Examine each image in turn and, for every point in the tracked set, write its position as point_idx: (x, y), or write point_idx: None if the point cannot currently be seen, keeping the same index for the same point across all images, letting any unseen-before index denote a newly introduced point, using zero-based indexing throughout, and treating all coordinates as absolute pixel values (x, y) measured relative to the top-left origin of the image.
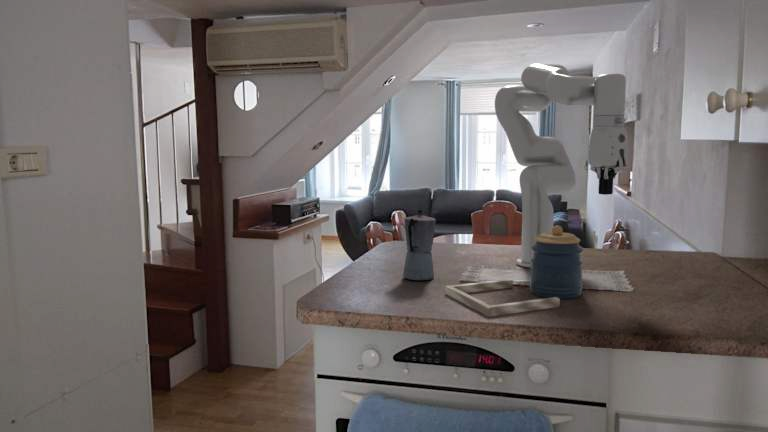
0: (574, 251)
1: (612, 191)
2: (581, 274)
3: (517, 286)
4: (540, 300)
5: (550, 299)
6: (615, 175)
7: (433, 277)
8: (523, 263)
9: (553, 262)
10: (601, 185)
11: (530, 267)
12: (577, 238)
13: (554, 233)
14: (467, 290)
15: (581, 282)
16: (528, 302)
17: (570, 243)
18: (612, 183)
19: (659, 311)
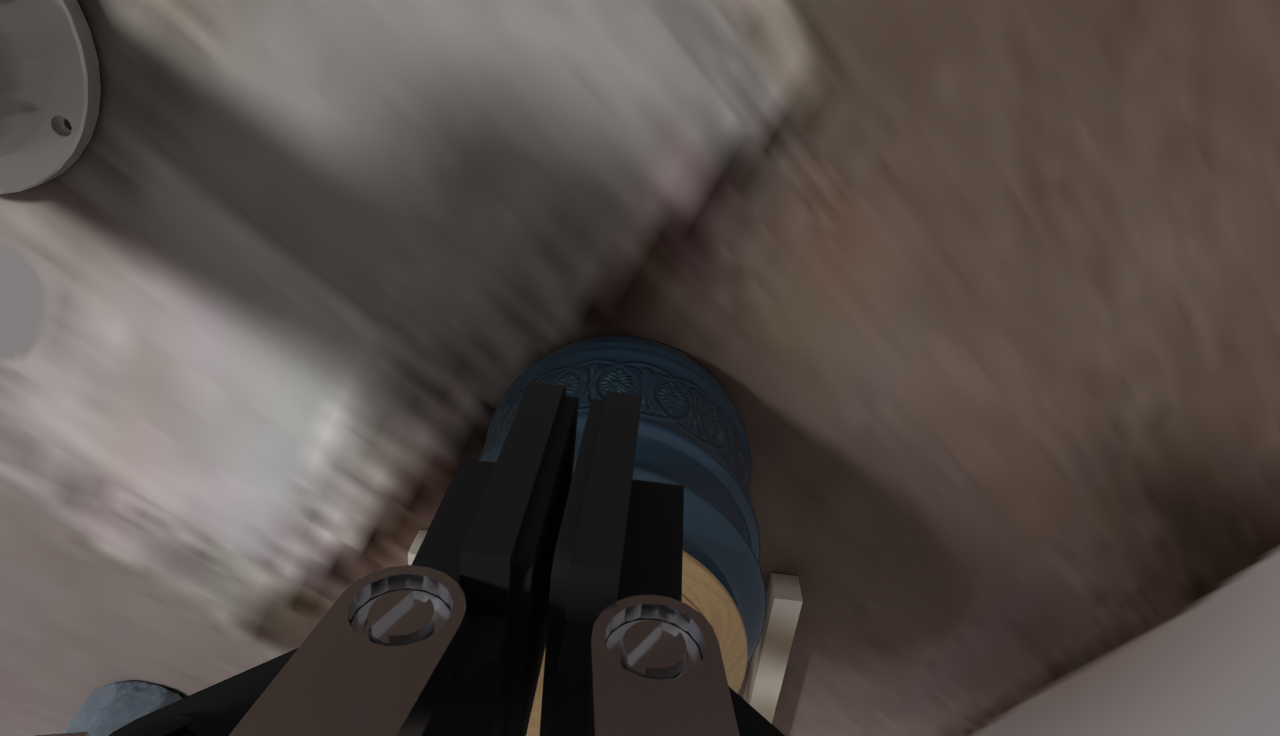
0: (761, 624)
1: (639, 412)
2: (731, 448)
3: (438, 504)
4: (778, 672)
5: (790, 636)
6: (776, 730)
7: (177, 697)
8: (6, 192)
9: None
10: (543, 650)
11: (64, 170)
12: (700, 600)
13: None
14: None
15: (725, 417)
16: (772, 717)
17: (743, 676)
18: (681, 568)
19: (1139, 283)
